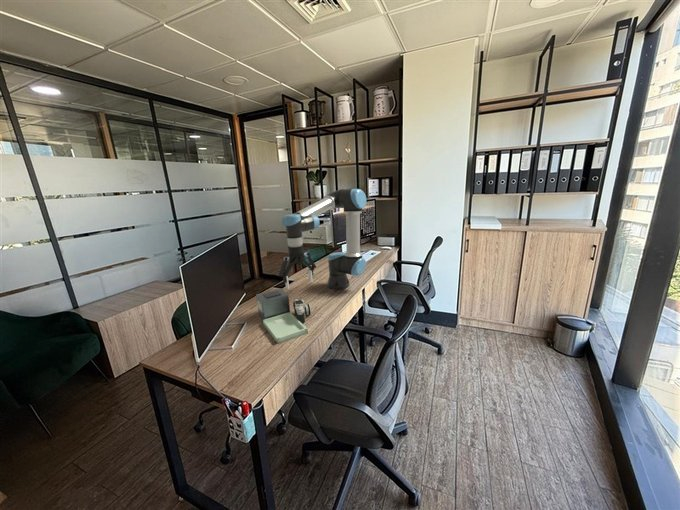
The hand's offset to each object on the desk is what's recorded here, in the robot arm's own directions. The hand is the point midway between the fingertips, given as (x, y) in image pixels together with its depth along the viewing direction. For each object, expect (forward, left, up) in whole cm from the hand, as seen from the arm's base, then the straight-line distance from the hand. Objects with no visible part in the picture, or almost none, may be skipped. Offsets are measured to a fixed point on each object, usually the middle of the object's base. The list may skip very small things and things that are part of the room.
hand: (299, 284), depth 145 cm
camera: (0, +1, -19) cm, 19 cm away
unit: (+12, -11, -18) cm, 25 cm away
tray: (+13, +7, -18) cm, 23 cm away
